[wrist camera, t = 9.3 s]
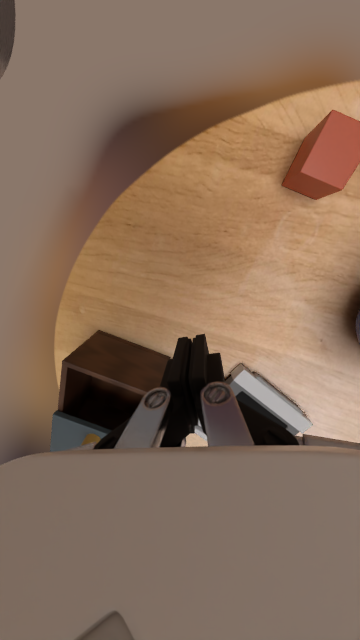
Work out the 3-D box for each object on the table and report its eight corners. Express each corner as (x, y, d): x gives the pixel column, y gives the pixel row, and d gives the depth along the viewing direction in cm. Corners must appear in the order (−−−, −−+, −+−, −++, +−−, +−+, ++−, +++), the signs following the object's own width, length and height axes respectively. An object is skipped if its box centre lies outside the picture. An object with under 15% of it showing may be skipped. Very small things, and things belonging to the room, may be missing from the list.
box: (86, 396, 39) (55, 437, 31) (98, 329, 32) (62, 360, 23) (144, 417, 39) (129, 463, 31) (170, 357, 32) (159, 396, 24)
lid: (51, 467, 35) (33, 494, 31) (56, 409, 27) (33, 436, 24) (117, 490, 35) (107, 520, 31) (140, 440, 28) (130, 470, 24)
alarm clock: (181, 423, 34) (249, 380, 26) (184, 402, 38) (244, 360, 30) (245, 467, 37) (323, 439, 29) (242, 443, 41) (310, 413, 33)
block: (281, 185, 21) (299, 171, 17) (305, 136, 19) (332, 108, 15) (315, 200, 21) (342, 190, 17) (343, 153, 19) (380, 129, 15)
